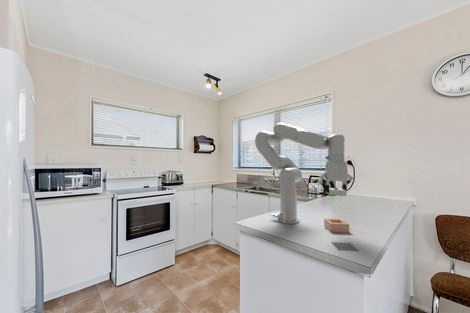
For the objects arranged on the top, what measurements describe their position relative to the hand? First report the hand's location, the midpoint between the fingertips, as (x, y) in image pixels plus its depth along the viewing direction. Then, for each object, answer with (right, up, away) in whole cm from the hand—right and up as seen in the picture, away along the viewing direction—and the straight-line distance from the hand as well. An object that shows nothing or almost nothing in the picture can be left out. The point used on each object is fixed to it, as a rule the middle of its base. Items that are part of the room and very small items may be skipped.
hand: (335, 192), depth 103 cm
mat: (-7, -19, -21) cm, 29 cm away
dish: (0, -20, 0) cm, 20 cm away
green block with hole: (0, -1, 0) cm, 1 cm away
